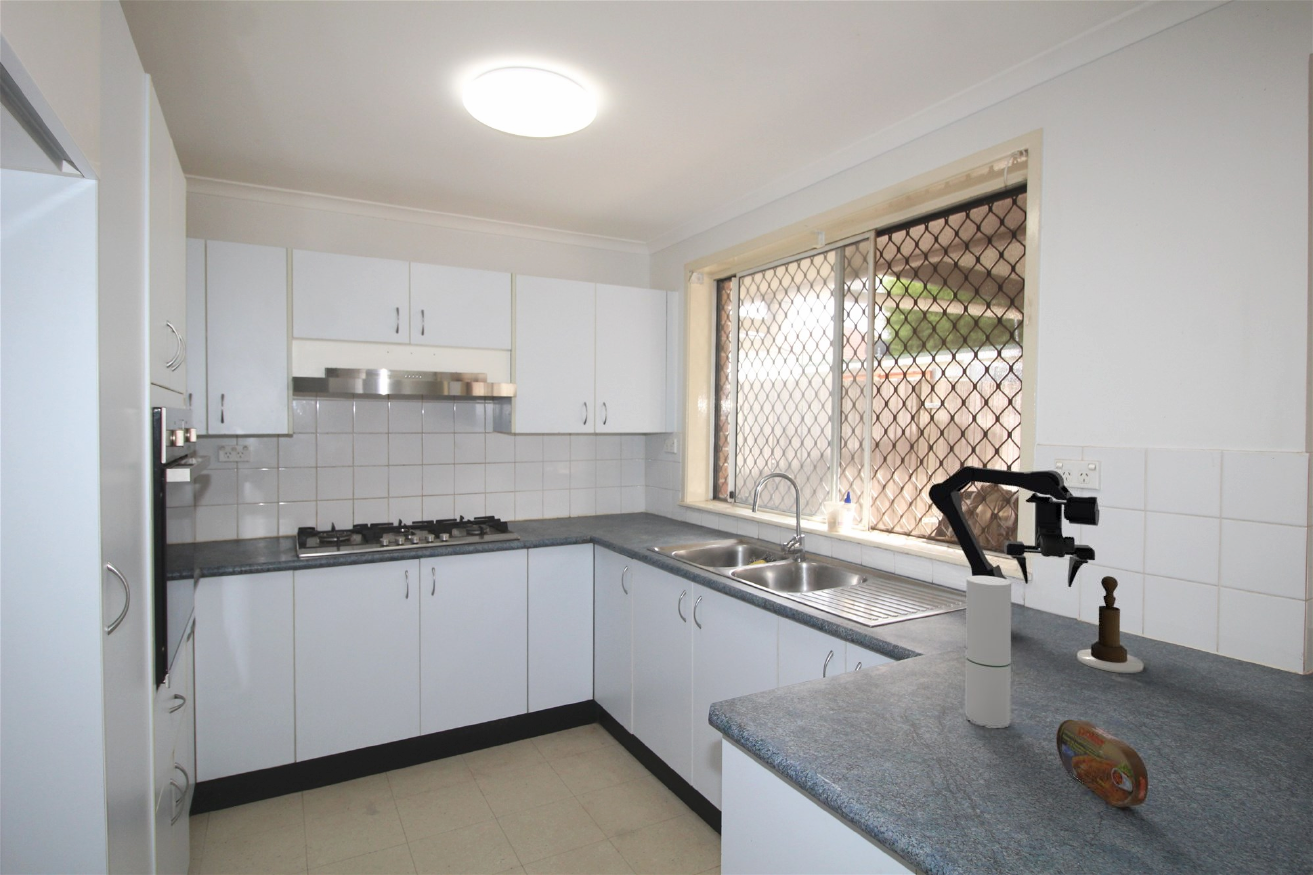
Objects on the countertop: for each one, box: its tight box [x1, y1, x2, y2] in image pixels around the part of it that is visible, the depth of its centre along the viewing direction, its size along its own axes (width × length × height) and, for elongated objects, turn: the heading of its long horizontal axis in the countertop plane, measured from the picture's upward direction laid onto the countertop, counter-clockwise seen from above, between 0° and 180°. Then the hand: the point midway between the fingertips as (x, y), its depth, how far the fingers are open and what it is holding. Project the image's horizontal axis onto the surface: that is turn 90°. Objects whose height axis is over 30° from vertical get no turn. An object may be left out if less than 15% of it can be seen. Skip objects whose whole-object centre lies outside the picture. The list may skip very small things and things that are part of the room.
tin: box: [1055, 719, 1149, 808], centre depth 96 cm, size 15×3×8 cm, turn 5°
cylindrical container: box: [964, 575, 1012, 726], centre depth 119 cm, size 7×7×25 cm
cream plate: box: [1076, 648, 1144, 674], centre depth 147 cm, size 12×12×1 cm
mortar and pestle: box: [1090, 575, 1128, 663], centre depth 147 cm, size 7×6×18 cm
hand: (1047, 585), depth 164 cm, fingers open, 9 cm apart
